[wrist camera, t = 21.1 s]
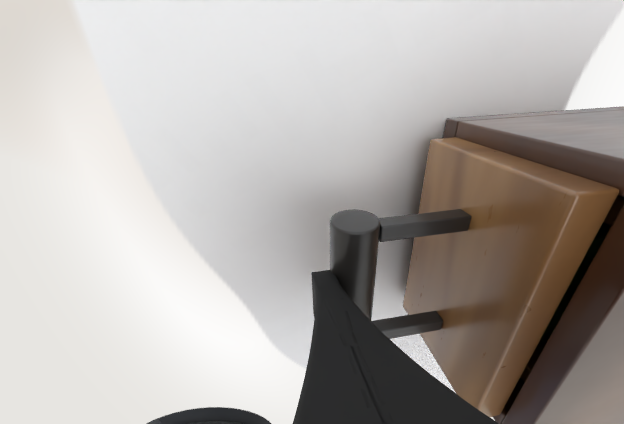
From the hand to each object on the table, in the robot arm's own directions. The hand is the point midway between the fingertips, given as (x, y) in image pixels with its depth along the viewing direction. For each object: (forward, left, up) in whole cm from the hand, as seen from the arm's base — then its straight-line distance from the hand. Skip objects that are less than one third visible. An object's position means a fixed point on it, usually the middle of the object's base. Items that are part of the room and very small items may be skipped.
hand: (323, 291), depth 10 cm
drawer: (+8, 0, -3) cm, 9 cm away
